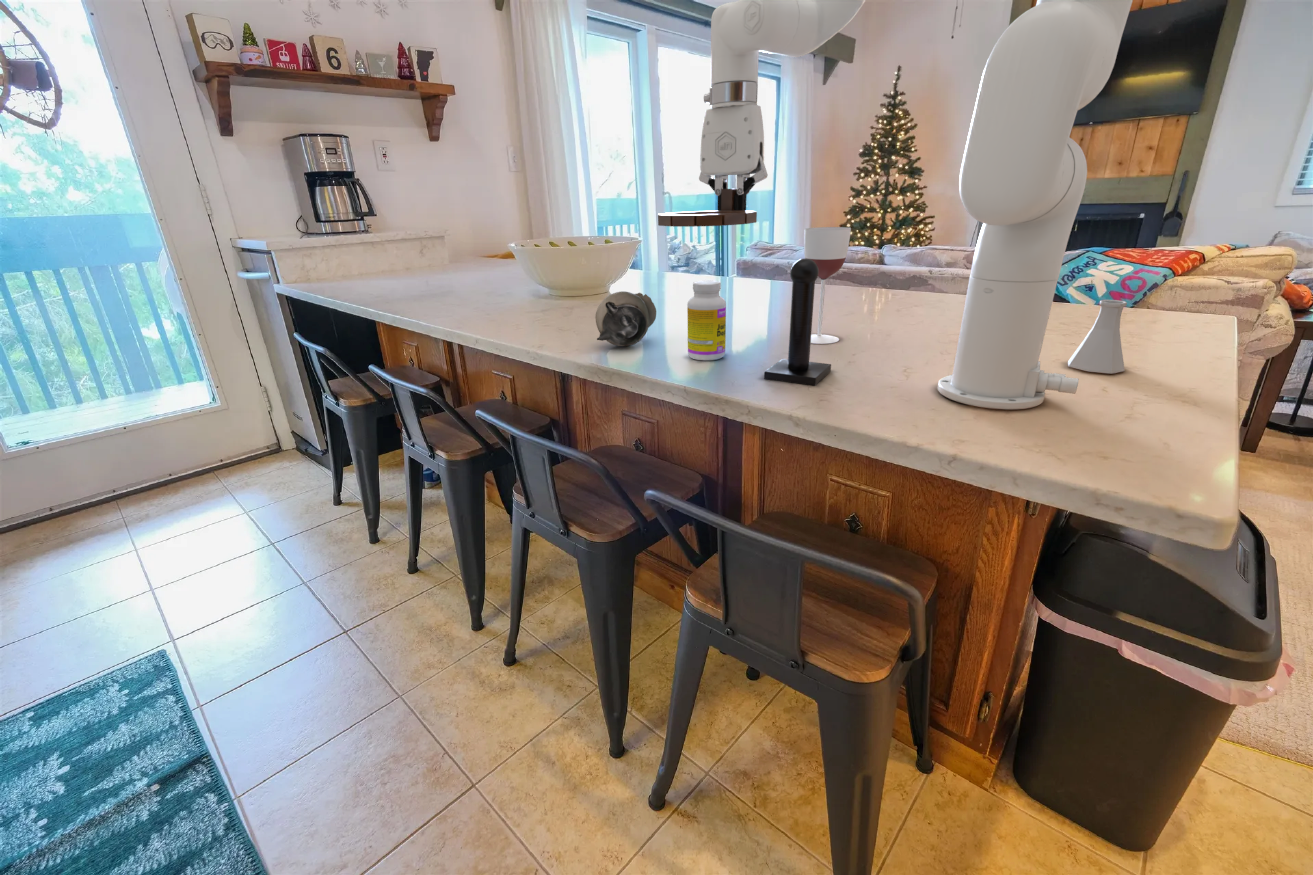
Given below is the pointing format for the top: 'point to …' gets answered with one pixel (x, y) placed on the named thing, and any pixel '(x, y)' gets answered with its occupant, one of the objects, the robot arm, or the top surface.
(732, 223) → the walnut ring
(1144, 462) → the top surface
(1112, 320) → the flask
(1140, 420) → the top surface
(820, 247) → the wineglass
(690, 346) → the supplement bottle
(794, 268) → the towel holder
